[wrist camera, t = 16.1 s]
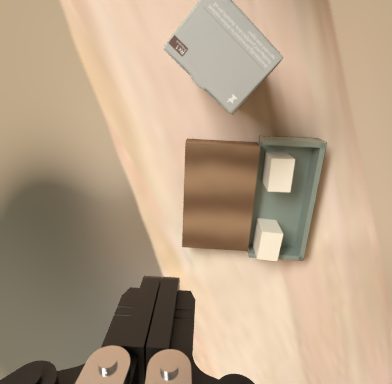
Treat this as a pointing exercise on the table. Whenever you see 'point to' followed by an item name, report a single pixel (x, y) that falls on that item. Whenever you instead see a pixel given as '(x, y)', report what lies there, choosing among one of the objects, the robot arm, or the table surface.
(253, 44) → the skincare box
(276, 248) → the cream square block
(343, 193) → the table surface
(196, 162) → the walnut board
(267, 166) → the tile
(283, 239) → the tray
